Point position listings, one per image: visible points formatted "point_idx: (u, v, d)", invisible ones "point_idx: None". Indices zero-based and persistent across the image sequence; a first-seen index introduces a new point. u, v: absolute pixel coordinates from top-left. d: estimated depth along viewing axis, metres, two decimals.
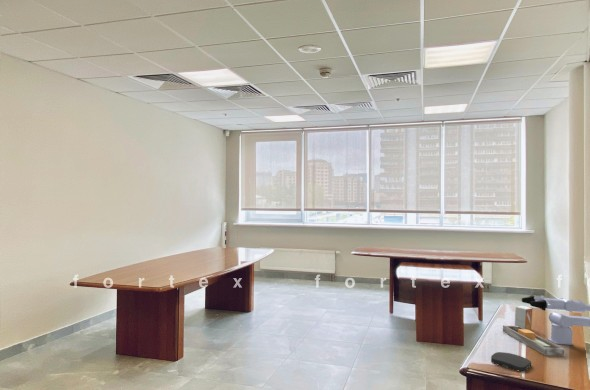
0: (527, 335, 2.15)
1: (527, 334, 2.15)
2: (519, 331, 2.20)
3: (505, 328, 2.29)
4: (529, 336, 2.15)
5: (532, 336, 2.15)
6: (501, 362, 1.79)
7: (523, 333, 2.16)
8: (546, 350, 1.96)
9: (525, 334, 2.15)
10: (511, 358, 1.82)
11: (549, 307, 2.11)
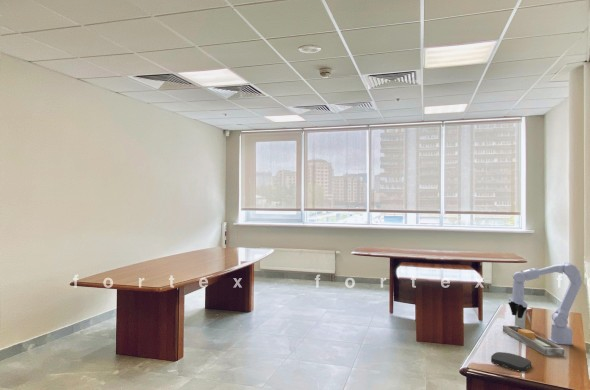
0: (527, 335, 2.15)
1: (527, 334, 2.15)
2: (519, 331, 2.20)
3: (505, 328, 2.29)
4: (529, 336, 2.15)
5: (532, 336, 2.15)
6: (501, 362, 1.79)
7: (523, 333, 2.16)
8: (546, 350, 1.96)
9: (525, 334, 2.15)
10: (511, 358, 1.82)
11: (526, 305, 2.20)
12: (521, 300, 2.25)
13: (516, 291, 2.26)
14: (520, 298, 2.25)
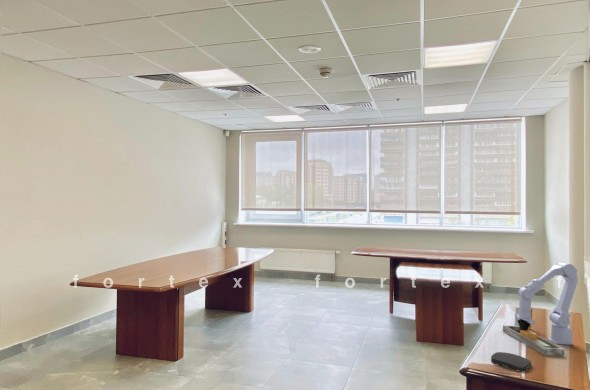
0: (529, 337, 2.13)
1: (529, 335, 2.13)
2: (521, 332, 2.18)
3: (505, 328, 2.29)
4: (531, 337, 2.13)
5: (534, 337, 2.13)
6: (501, 362, 1.79)
7: (525, 334, 2.14)
8: (546, 350, 1.96)
9: (527, 336, 2.13)
10: (511, 358, 1.82)
11: (533, 323, 2.13)
12: (528, 317, 2.18)
13: (525, 308, 2.18)
14: (527, 315, 2.18)
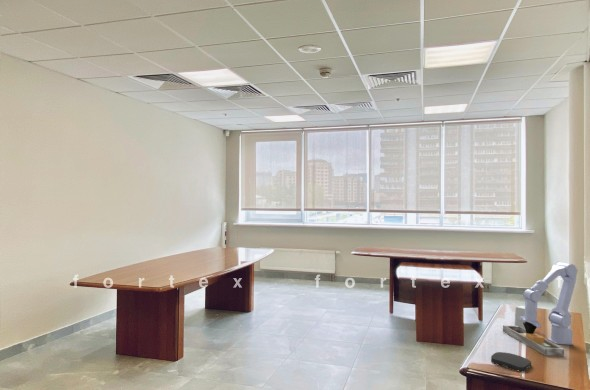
0: (535, 340, 2.08)
1: (535, 339, 2.08)
2: (527, 335, 2.13)
3: (505, 328, 2.29)
4: (538, 341, 2.08)
5: (541, 341, 2.08)
6: (501, 362, 1.79)
7: (531, 338, 2.09)
8: (546, 350, 1.96)
9: (533, 339, 2.08)
10: (511, 358, 1.82)
11: (539, 326, 2.08)
12: (534, 320, 2.13)
13: (532, 311, 2.13)
14: (533, 317, 2.13)
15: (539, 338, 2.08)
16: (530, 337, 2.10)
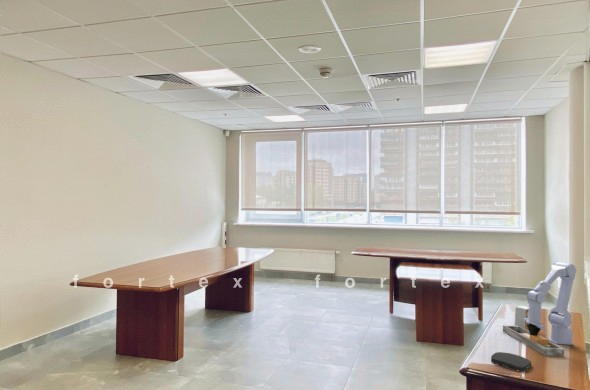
0: (539, 342, 2.05)
1: (539, 341, 2.05)
2: (531, 337, 2.09)
3: (505, 328, 2.29)
4: (542, 343, 2.05)
5: (545, 343, 2.05)
6: (501, 362, 1.79)
7: (535, 340, 2.06)
8: (546, 350, 1.96)
9: (537, 341, 2.05)
10: (511, 358, 1.82)
11: (544, 328, 2.05)
12: (538, 321, 2.10)
13: (537, 312, 2.10)
14: (537, 319, 2.10)
15: (543, 340, 2.05)
16: (534, 339, 2.07)
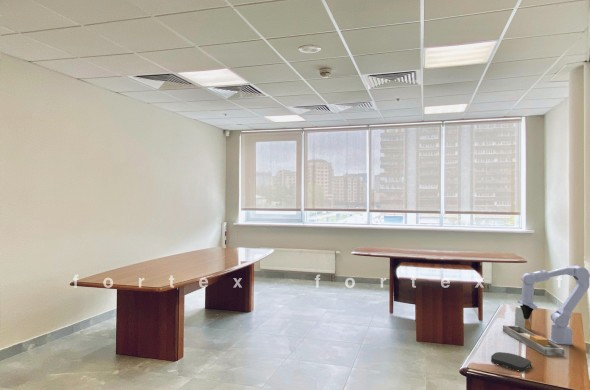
0: (539, 342, 2.05)
1: (540, 341, 2.05)
2: (531, 337, 2.09)
3: (505, 328, 2.29)
4: (542, 343, 2.05)
5: (545, 343, 2.05)
6: (501, 362, 1.79)
7: (535, 340, 2.06)
8: (546, 350, 1.96)
9: (537, 341, 2.05)
10: (511, 358, 1.82)
11: (536, 308, 2.16)
12: (531, 302, 2.21)
13: (526, 293, 2.22)
14: (530, 300, 2.21)
15: (543, 340, 2.05)
16: (534, 339, 2.07)
